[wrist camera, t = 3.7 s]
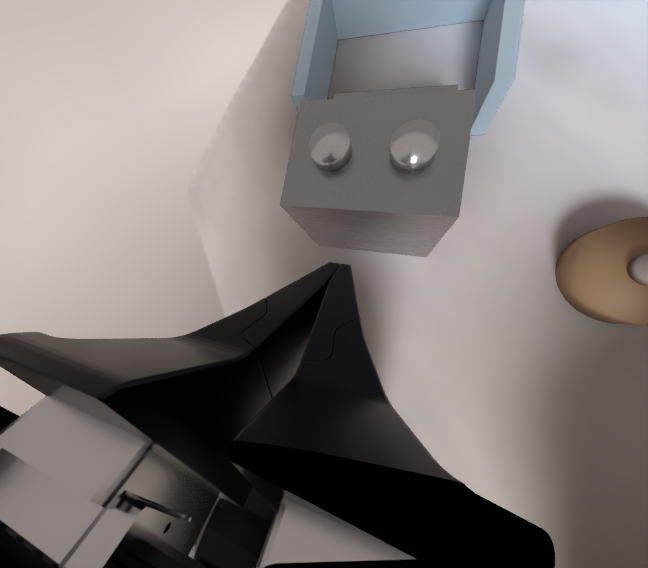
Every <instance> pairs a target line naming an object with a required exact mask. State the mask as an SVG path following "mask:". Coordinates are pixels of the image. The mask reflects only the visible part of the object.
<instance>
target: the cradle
mask: <svg viewBox="0 0 648 568" xmlns="http://www.w3.org/2000/svg"><path fill="white" fill-rule="evenodd" d="M524 4H525V0H310V4H309V9H308V14H307V19H306V24H305V29H304V34H303V39H302V44H301V49H300V54H299V59H298V64H297V69H296V74H295V79H294V84H293V89H292V94H291V97H292V99H293V101H294V104H295V106H296V109H297V111H298V112H299V107H300V102H301V101H306V100H321V99H327V97H328V92H329V87H330V81H331V76H332V71H333V65H334V60H335V55H336V49H337V44H338V40H341V39H348V38H355V37H363V36H370V35H377V34H384V33H392V32H399V31H406V30H414V29H421V28H428V27H435V26H443V25H450V24H457V23H465V22H472V21H479V20H484V23H483V30H482V37H481V45H480V52H479V59H478V66H477V74H476V81H475V88H474V89H476V96H475V104H474V111H473V118H472V125H471V133H470V135H483V134H484V133H485V131H486V129H487V127H488V126H489V124H490V122H491V120H492V119H493V117H494V115H495V113H496V112H497V110H498V108H499V106H500V105H501V103H502V101H503V99H504V98H505V96H506V94H507V92H508V91H509V89H510V87H511V85H512V84H513V82H514V80H515V76H516V68H517V60H518V52H519V44H520V36H521V28H522V20H523V12H524Z"/></svg>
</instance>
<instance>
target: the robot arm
mask: <svg viewBox="0 0 648 568" xmlns="http://www.w3.org/2000/svg"><path fill="white" fill-rule="evenodd" d="M0 367H2V368H4V369H5V370H7V371H8V372H10V373H11V374H13V375H15V376H16V377H18V378H19V379H21V380H22V381H24V382H26V383H27V384H29V385H30V386H32V387H34V388H35V389H37V390H38V391H40V392H42V393H43V394H45V395H46V396H45V397H44V398H43V399H42V400H40V401H39V402H38V403H36V404H35V405H34V406H33V407H31V408H30V409H29V410H28V411H26V412H25V413H24V414H22V415H21V416H19V415H16V414H15V413H13V412H11V411H9V410H7V409H5V408H3V407H1V406H0V568H554V567H555V551H554V545H553V542H552V540H551V538H550V536H549V535H548V533H547V532H546V531H545V530H543V529H542V528H540V527H538V526H536V525H534V524H532V523H530V522H529V521H527V520H525V519H523V518H521V517H519V516H517V515H515V514H513V513H511V512H510V511H508V510H506V509H504V508H502V507H500V506H498V505H496V504H494V503H492V502H490V501H489V500H487V499H485V498H483V497H481V496H479V495H477V494H475V493H474V492H473V491H471V490H470V489H469V488H468V487H466V485H465V484H463V483H462V482H460V481H459V480H457V479H456V478H454V477H453V476H452V475H450V474H449V473H448V472H447V471H446V470H444V469H443V468H442V467H441V466H440V465H439V464H438V463H437V462H436V460H435V459H434V458H433V457H432V456H431V454H430V453H429V452H428V451H427V449H426V448H425V447H424V446H423V444H422V443H421V442H420V441H419V439H418V438H417V437H416V436H415V434H414V433H413V432H412V431H411V429H410V428H409V427H408V426H407V424H406V423H405V422H404V421H403V419H402V418H401V417H400V416H399V414H398V413H397V412H396V411H395V409H394V408H393V407H392V405H391V404H390V402H389V400H388V398H387V396H386V394H385V392H384V389H383V387H382V384H381V382H380V379H379V377H378V374H377V371H376V369H375V366H374V363H373V361H372V358H371V355H370V353H369V350H368V347H367V344H366V341H365V337H364V333H363V329H362V324H361V319H360V314H359V309H358V303H357V298H356V293H355V287H354V282H353V276H352V271H351V266H350V265H345V264H338V263H332V262H330V263H328V264H326V265H324V266H322V267H320V268H319V269H317V270H315V271H313V272H311V273H309V274H308V275H306V276H304V277H302V278H300V279H299V280H297V281H295V282H293V283H291V284H289V285H288V286H286V287H284V288H282V289H280V290H279V291H277V292H275V293H273V294H271V295H269V296H268V297H266V298H264V299H262V300H260V301H258V302H257V303H255V304H253V305H251V306H249V307H247V308H245V309H243V310H241V311H239V312H237V313H234V314H232V315H230V316H228V317H226V318H223V319H221V320H219V321H217V322H215V323H212V324H210V325H208V326H206V327H204V328H201V329H199V330H197V331H195V332H192V333H190V334H187V335H183V336H179V337H173V338H145V339H144V338H142V339H141V338H140V339H67V338H58V337H53V336H49V335H46V334H43V333H40V332H23V333H9V334H1V335H0ZM191 549H192V551H193V554H192V557H191V558H190V557H189V556H188V554H189V552H190V551H191Z"/></svg>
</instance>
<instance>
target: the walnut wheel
mask: <svg viewBox="0 0 648 568" xmlns="http://www.w3.org/2000/svg"><path fill="white" fill-rule="evenodd" d="M556 281H557V284H558V287H559V289H560V291H561V293H562V295H563V296H564V298H565V299H566V300H567V301H568V302H569V303H570V304H571V305H572V306H573V307H574V308H575V309H577V310H578V311H580V312H581V313H583V314H585V315H587V316H589V317H591V318H594V319H597V320H600V321H603V322H609V323H617V324H633V325H648V217H640V218H632V219H627V220H622V221H619V222H616V223H613V224H611V225H608V226H605V227H603V228H600V229H598V230H595V231H593V232H590V233H587V234H585V235H583V236H581V237H579V238H577V239H575V240H574V241H573V242H571V243H570V244H569V245H568V246H567V247H566V248H565V249H564V250H563V252H562V253H561V255H560V257H559V259H558V261H557V265H556Z"/></svg>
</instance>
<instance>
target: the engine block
mask: <svg viewBox="0 0 648 568" xmlns="http://www.w3.org/2000/svg"><path fill="white" fill-rule="evenodd" d="M457 89H458V85H446V86H432V87H418V88H405V89H391V90H378V91H364V92H350V93H337V94H334V98H333V99H321V100H306V101H301V102H300V107H299V112H298V117H297V122H296V127H295V132H294V137H293V142H292V147H291V152H290V157H289V162H288V167H287V172H286V178H285V183H284V188H283V193H282V198H281V203H280V206H281V207H282V208H283V209H284V210H285V211H286V212H287V213H288V214H289V215H290V216H291V217H292V218H293V219H294V220H295V221H296V222H297V223H298V224H299V225H300V226H301V227H302V228H303V229H304V230H305V231H306V232H307V233H308V235H309V236H310V237H311V238H312V239H313V240H314V241H315V242H316V243H317V244H318V245H320V246H329V247H338V248H347V249H356V250H365V251H374V252H383V253H392V254H401V255H410V256H419V257H427V256H428V254H429V253H430V252H431V251H432V249H433V248H434V247H435V246H436V244H437V243H438V242H439V241H440V240H441V238H442V237H443V236H444V235H445V233H446V232H447V231H448V230H449V228H450V227H451V226H452V225H453V223H454V222H455V221H456V220H457V219H458V217H459V213H460V205H461V198H462V191H463V184H464V176H465V169H466V162H467V154H468V147H469V140H470V133H471V125H472V118H473V111H474V104H475V96H476V89H470V90H457Z"/></svg>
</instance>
